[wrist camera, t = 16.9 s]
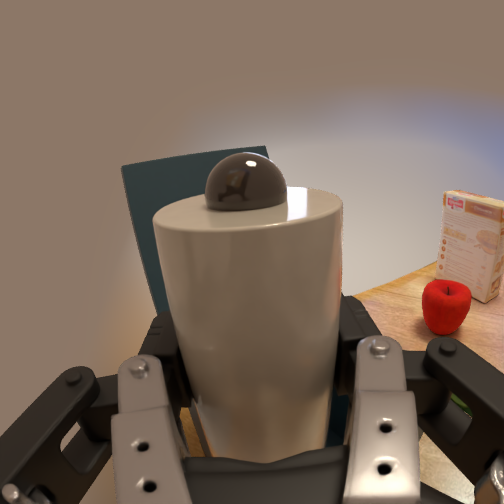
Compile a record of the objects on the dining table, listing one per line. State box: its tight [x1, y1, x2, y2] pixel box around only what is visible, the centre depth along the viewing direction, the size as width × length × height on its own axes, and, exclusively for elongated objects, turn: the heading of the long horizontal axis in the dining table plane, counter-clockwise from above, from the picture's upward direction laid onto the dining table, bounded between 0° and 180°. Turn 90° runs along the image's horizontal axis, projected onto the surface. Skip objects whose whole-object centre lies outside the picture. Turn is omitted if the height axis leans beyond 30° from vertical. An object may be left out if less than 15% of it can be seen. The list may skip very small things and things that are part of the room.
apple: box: [422, 279, 472, 335], centre depth 44 cm, size 9×9×8 cm
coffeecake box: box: [435, 190, 504, 303], centre depth 53 cm, size 15×7×20 cm, turn 21°
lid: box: [121, 146, 269, 315], centre depth 27 cm, size 16×14×1 cm
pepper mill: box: [152, 153, 343, 463], centre depth 9 cm, size 5×5×12 cm
